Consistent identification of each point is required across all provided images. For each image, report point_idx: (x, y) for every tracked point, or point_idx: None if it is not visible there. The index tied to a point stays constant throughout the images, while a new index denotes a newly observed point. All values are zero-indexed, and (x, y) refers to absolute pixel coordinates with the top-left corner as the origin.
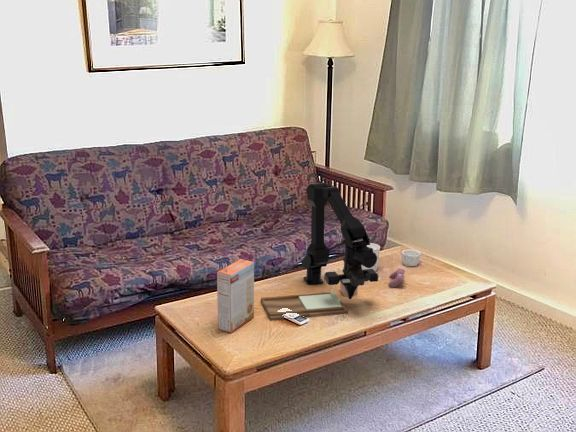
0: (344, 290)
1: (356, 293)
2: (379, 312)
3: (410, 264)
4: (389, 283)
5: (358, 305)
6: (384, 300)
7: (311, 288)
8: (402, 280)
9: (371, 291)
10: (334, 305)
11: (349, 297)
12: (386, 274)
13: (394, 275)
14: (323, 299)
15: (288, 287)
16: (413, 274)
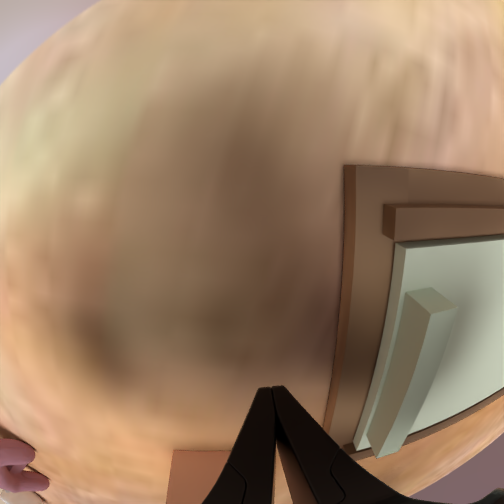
0: None
1: (176, 459)
2: (35, 172)
3: None
4: (27, 458)
5: (185, 331)
6: (15, 358)
7: (382, 474)
8: None
9: (93, 453)
10: (452, 276)
11: (288, 395)
12: (66, 494)
13: (30, 480)
14: (456, 373)
15: (446, 455)
16: None
